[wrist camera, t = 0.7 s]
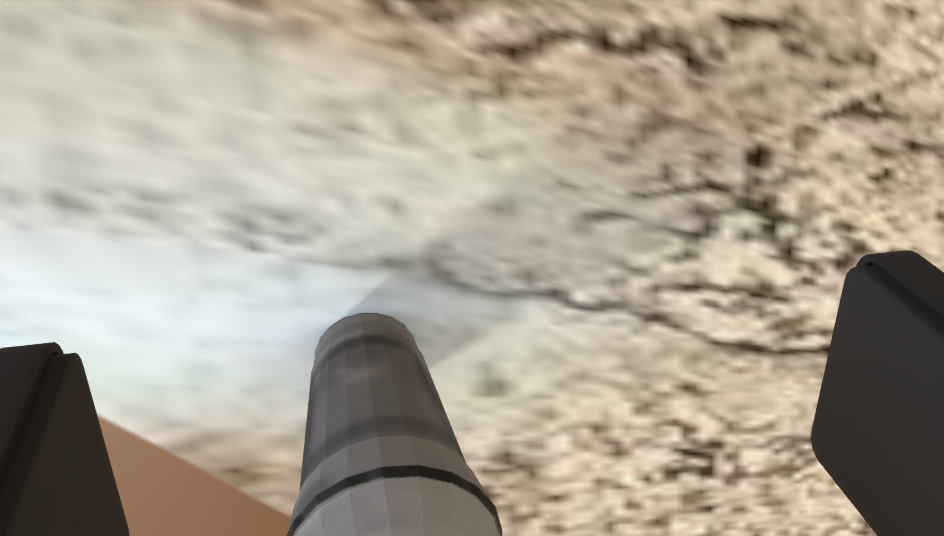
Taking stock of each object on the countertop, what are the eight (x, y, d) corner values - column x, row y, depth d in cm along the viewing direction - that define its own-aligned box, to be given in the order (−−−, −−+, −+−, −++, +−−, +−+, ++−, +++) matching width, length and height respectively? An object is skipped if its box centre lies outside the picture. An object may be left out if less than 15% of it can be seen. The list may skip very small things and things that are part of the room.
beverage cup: (396, 442, 41) (477, 909, 24) (253, 390, 39) (227, 877, 21) (478, 323, 39) (630, 746, 22) (331, 258, 36) (374, 685, 19)
